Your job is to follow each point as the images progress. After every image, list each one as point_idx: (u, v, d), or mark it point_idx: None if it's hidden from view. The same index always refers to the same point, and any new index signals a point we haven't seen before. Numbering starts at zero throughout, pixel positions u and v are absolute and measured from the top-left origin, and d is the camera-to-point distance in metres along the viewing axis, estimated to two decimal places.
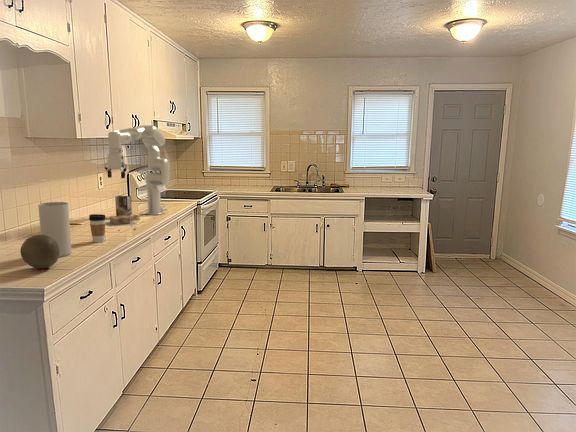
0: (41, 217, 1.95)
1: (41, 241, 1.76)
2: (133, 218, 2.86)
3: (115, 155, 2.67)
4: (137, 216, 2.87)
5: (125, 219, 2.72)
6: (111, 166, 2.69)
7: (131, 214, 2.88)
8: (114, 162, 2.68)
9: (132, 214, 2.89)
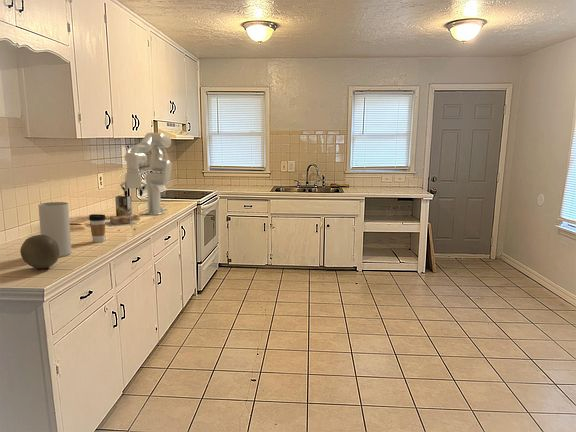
0: (41, 217, 1.95)
1: (41, 241, 1.76)
2: (133, 218, 2.86)
3: (136, 175, 2.82)
4: (137, 216, 2.87)
5: (125, 219, 2.72)
6: (131, 185, 2.81)
7: (131, 214, 2.89)
8: (135, 181, 2.82)
9: (132, 214, 2.89)
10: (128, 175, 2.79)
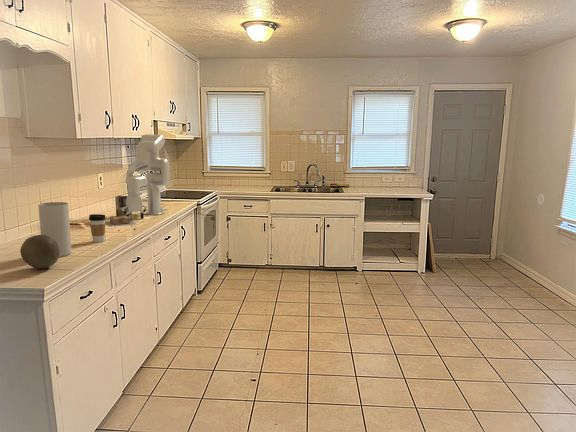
0: (41, 217, 1.95)
1: (41, 241, 1.76)
2: (133, 218, 2.86)
3: (137, 198, 2.85)
4: (137, 216, 2.87)
5: (125, 219, 2.72)
6: (132, 209, 2.85)
7: (131, 214, 2.89)
8: (136, 205, 2.85)
9: (132, 214, 2.89)
10: (129, 199, 2.82)
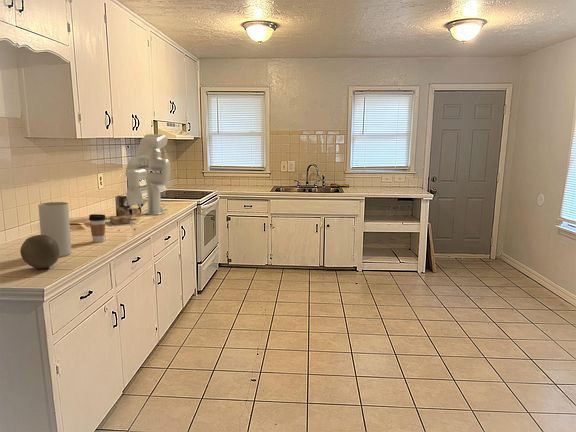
0: (41, 217, 1.95)
1: (41, 241, 1.76)
2: (133, 212, 2.86)
3: (137, 192, 2.85)
4: (137, 210, 2.88)
5: (125, 219, 2.72)
6: (133, 202, 2.85)
7: None
8: (136, 198, 2.85)
9: (132, 208, 2.89)
10: (129, 192, 2.82)
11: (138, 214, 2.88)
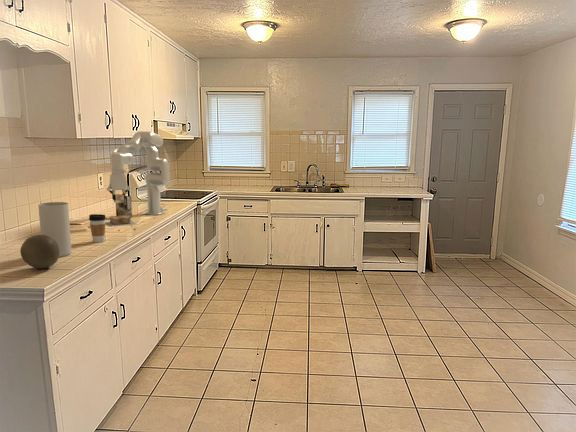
0: (41, 217, 1.95)
1: (41, 241, 1.76)
2: (117, 198, 2.70)
3: (121, 176, 2.69)
4: (121, 196, 2.71)
5: (125, 219, 2.72)
6: (116, 187, 2.68)
7: (115, 194, 2.73)
8: (120, 183, 2.69)
9: (116, 194, 2.73)
10: (113, 176, 2.66)
11: (122, 200, 2.72)
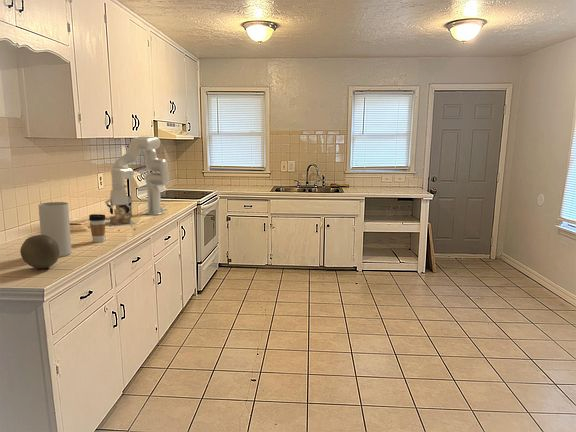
0: (41, 217, 1.95)
1: (41, 241, 1.76)
2: (117, 213, 2.72)
3: (122, 191, 2.71)
4: (122, 211, 2.73)
5: (125, 219, 2.72)
6: (117, 202, 2.70)
7: (115, 209, 2.74)
8: (121, 198, 2.71)
9: (116, 209, 2.75)
10: (113, 192, 2.68)
11: (122, 215, 2.74)
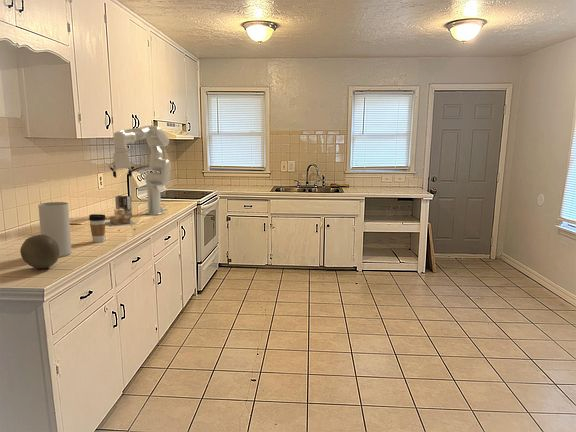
0: (41, 217, 1.95)
1: (41, 241, 1.76)
2: (117, 213, 2.72)
3: (124, 155, 2.75)
4: (122, 211, 2.73)
5: (125, 219, 2.72)
6: (120, 166, 2.75)
7: (115, 209, 2.74)
8: (123, 162, 2.76)
9: (116, 209, 2.75)
10: (116, 155, 2.72)
11: (122, 215, 2.74)
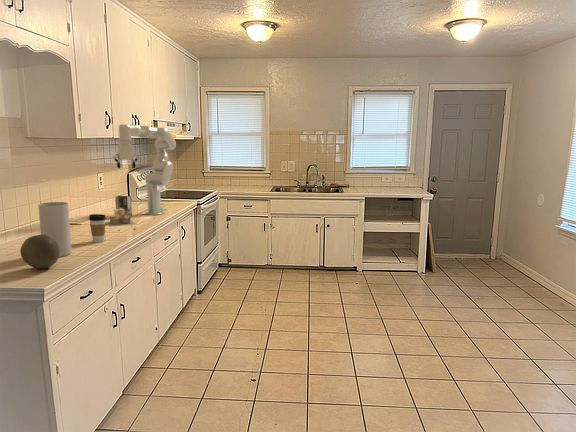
0: (41, 217, 1.95)
1: (41, 241, 1.76)
2: (117, 213, 2.72)
3: (129, 146, 2.84)
4: (122, 211, 2.73)
5: (125, 219, 2.72)
6: (124, 157, 2.84)
7: (115, 209, 2.74)
8: (128, 153, 2.85)
9: (116, 209, 2.75)
10: (120, 147, 2.81)
11: (122, 215, 2.74)
